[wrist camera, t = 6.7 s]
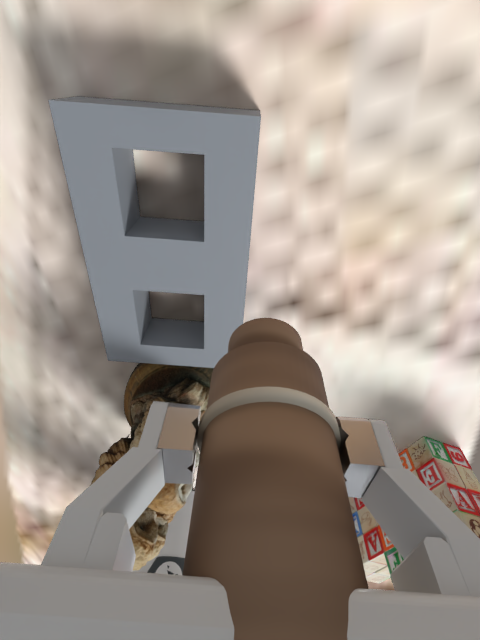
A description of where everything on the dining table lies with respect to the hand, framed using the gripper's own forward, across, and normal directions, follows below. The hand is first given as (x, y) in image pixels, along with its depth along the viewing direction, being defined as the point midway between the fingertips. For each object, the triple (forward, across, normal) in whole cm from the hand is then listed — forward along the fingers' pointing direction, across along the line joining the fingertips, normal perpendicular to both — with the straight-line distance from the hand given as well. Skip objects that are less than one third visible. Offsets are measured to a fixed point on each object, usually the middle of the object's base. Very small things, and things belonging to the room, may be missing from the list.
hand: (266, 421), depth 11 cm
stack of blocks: (+20, +23, -37) cm, 47 cm away
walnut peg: (+4, 0, 0) cm, 4 cm away
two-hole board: (+19, -7, -3) cm, 21 cm away
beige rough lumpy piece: (+20, -7, -23) cm, 31 cm away
